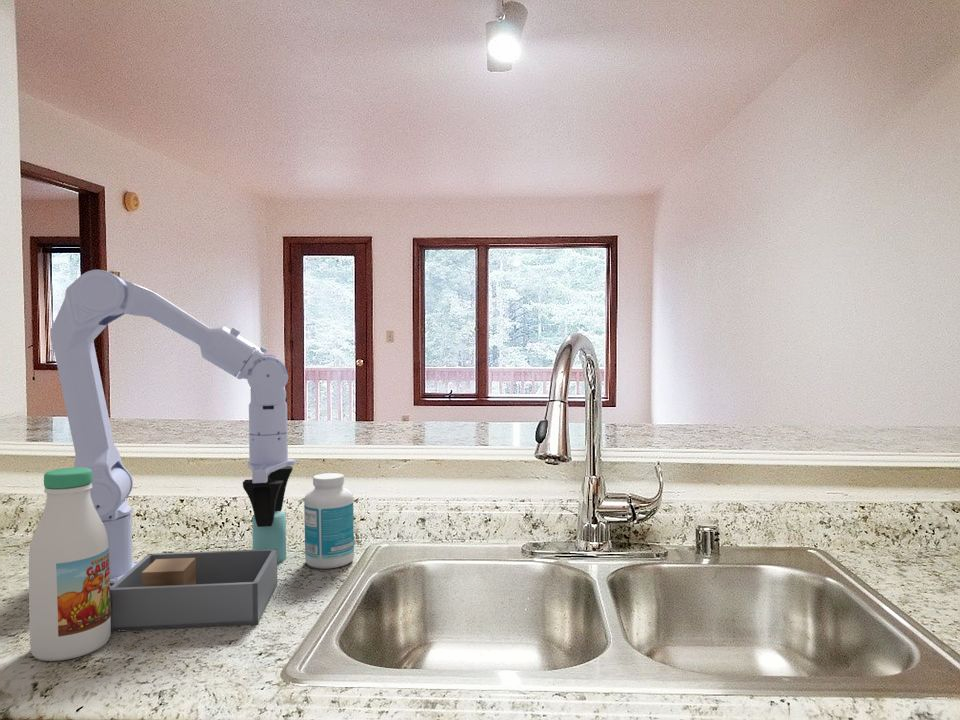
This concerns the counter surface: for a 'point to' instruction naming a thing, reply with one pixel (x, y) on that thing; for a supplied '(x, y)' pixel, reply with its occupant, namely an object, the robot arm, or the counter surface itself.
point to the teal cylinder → (271, 535)
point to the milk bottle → (69, 571)
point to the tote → (197, 592)
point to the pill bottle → (329, 523)
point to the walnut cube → (170, 572)
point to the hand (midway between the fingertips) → (269, 519)
